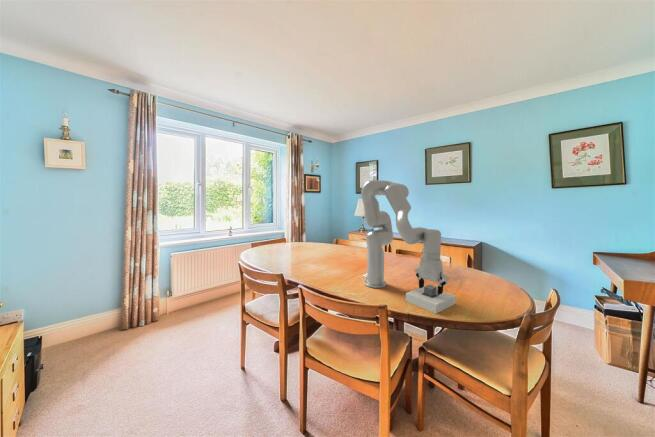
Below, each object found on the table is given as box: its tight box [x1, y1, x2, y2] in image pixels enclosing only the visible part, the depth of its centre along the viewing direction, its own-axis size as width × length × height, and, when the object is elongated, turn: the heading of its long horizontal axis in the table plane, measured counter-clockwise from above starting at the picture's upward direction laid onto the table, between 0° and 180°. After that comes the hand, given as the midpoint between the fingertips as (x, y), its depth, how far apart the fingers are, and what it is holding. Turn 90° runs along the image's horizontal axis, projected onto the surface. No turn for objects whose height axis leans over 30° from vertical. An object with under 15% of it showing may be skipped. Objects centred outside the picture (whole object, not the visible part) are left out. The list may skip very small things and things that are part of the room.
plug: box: [424, 284, 438, 298], centre depth 119 cm, size 4×4×8 cm
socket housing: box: [405, 287, 456, 314], centre depth 120 cm, size 16×16×4 cm
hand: (430, 290), depth 119 cm, fingers open, 9 cm apart
